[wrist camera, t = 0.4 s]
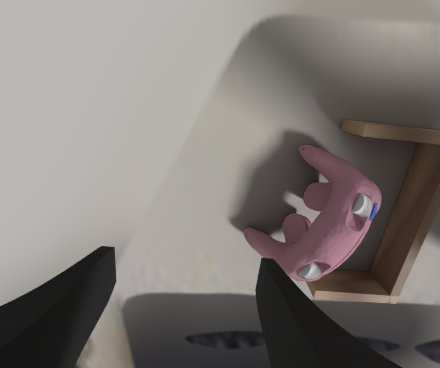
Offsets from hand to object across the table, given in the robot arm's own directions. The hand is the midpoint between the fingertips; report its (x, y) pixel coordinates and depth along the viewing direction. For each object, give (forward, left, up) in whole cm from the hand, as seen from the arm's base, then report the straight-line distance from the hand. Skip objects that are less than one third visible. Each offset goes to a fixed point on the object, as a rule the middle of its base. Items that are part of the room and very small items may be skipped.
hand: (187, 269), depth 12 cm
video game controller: (-8, 0, -10) cm, 13 cm away
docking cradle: (-14, 0, -9) cm, 17 cm away
